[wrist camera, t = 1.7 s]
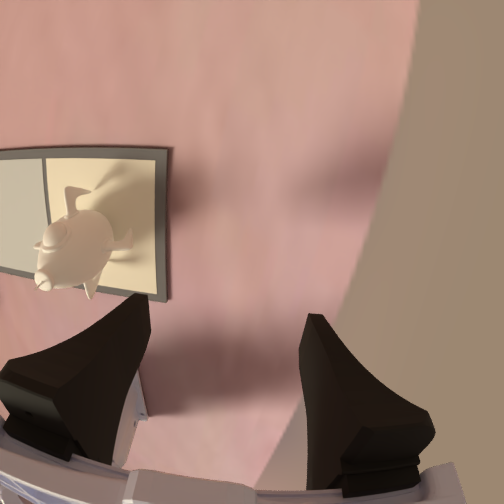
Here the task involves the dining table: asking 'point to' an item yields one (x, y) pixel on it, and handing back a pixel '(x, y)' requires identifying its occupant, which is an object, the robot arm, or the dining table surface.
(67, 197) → the rocket toy
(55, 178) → the game mat
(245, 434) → the dining table surface
